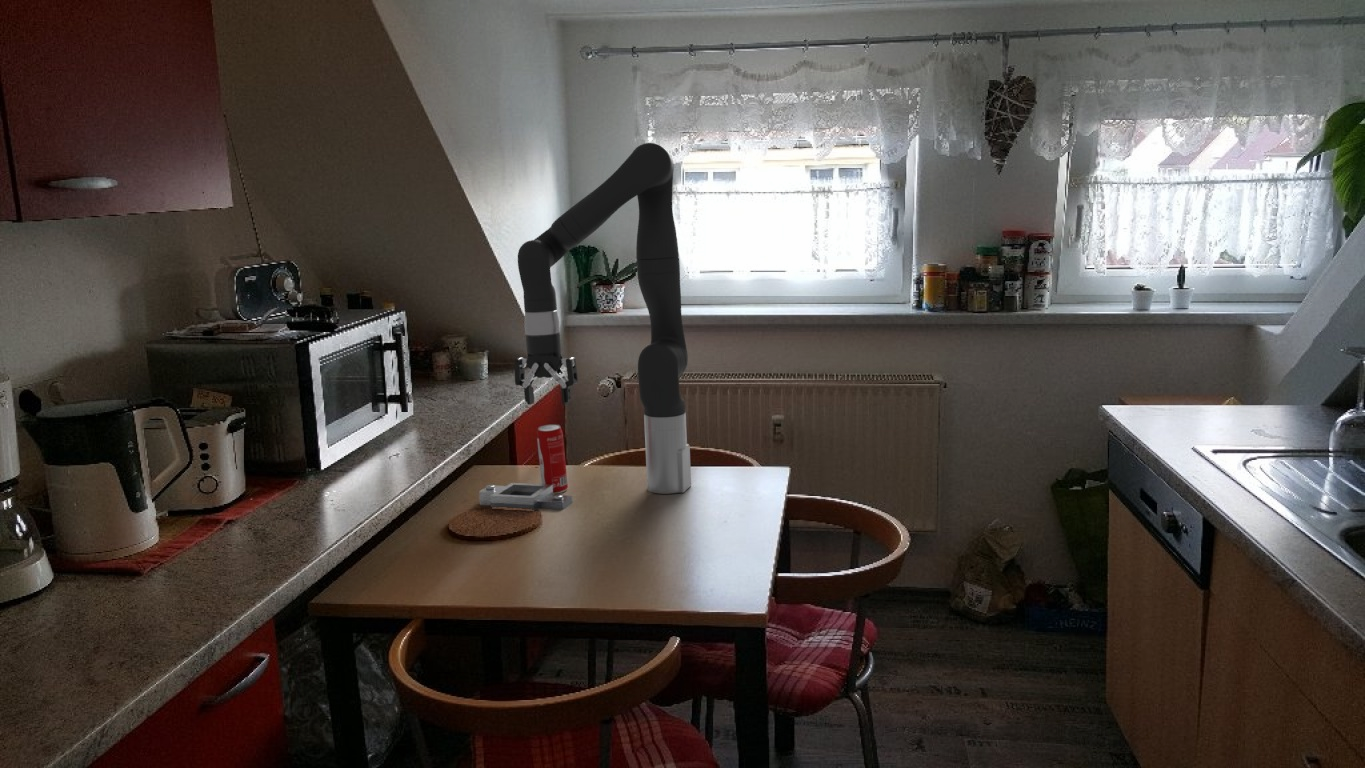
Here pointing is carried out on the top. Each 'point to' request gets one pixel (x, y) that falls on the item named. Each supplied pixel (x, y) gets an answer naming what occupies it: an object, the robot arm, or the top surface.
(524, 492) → the bolted grey bracket
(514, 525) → the top surface
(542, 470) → the beverage can
